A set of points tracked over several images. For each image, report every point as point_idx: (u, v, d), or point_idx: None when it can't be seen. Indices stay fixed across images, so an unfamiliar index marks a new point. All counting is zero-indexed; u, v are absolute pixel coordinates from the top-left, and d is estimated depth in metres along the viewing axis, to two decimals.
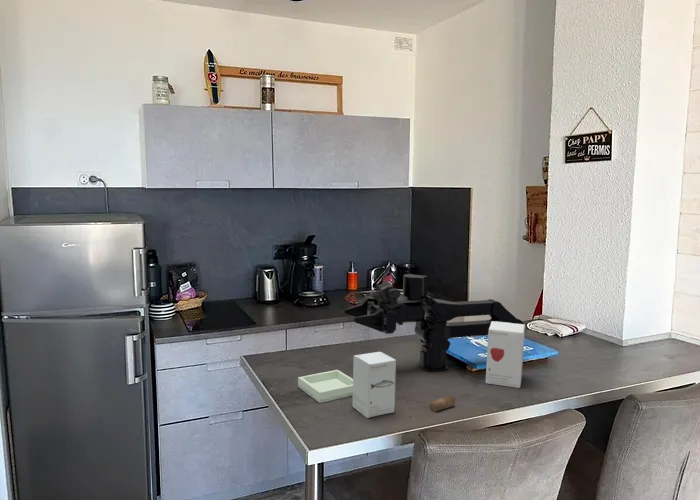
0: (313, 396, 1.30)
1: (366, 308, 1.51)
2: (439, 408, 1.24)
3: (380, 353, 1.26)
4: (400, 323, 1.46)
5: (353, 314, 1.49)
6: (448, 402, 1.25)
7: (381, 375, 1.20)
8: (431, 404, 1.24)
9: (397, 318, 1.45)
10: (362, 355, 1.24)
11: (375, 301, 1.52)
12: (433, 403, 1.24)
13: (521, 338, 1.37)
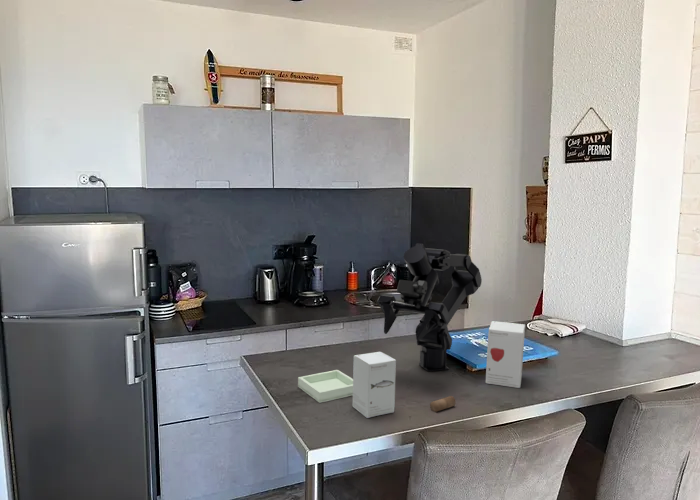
0: (313, 396, 1.30)
1: (392, 310, 1.41)
2: (439, 409, 1.24)
3: (380, 353, 1.26)
4: (430, 298, 1.43)
5: (390, 326, 1.40)
6: (449, 403, 1.25)
7: (381, 375, 1.20)
8: (432, 404, 1.24)
9: (428, 298, 1.41)
10: (362, 355, 1.24)
11: (392, 298, 1.42)
12: (434, 403, 1.24)
13: (521, 338, 1.37)
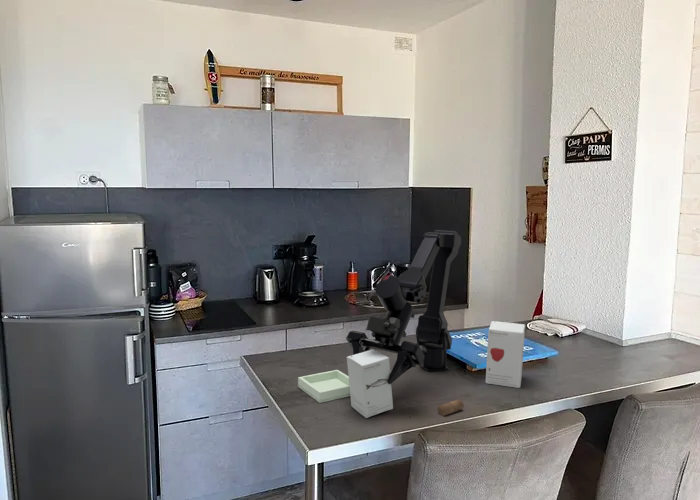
0: (313, 396, 1.30)
1: (362, 349, 1.28)
2: None
3: (373, 351, 1.25)
4: (404, 335, 1.30)
5: None
6: None
7: (375, 374, 1.19)
8: (443, 411, 1.21)
9: (402, 335, 1.28)
10: (355, 355, 1.23)
11: (363, 335, 1.29)
12: (443, 414, 1.22)
13: (521, 338, 1.37)
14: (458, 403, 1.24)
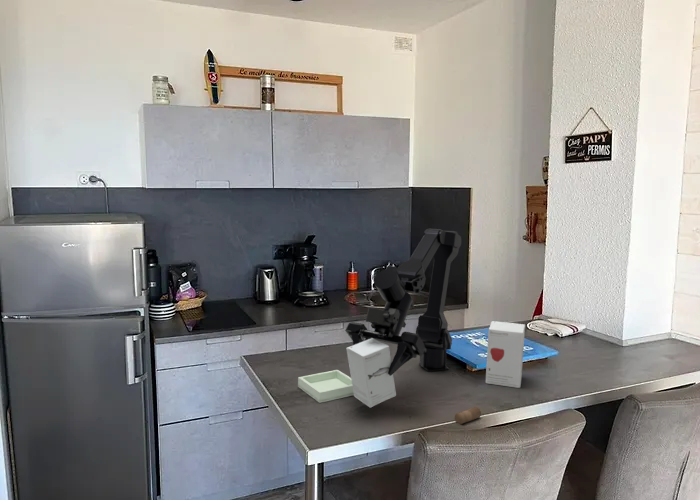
0: (313, 396, 1.30)
1: (361, 340, 1.28)
2: None
3: (372, 340, 1.24)
4: (404, 325, 1.29)
5: None
6: (474, 418, 1.19)
7: (376, 364, 1.18)
8: (458, 415, 1.18)
9: (402, 326, 1.27)
10: (354, 346, 1.22)
11: (362, 326, 1.28)
12: (460, 417, 1.17)
13: (521, 338, 1.37)
14: None
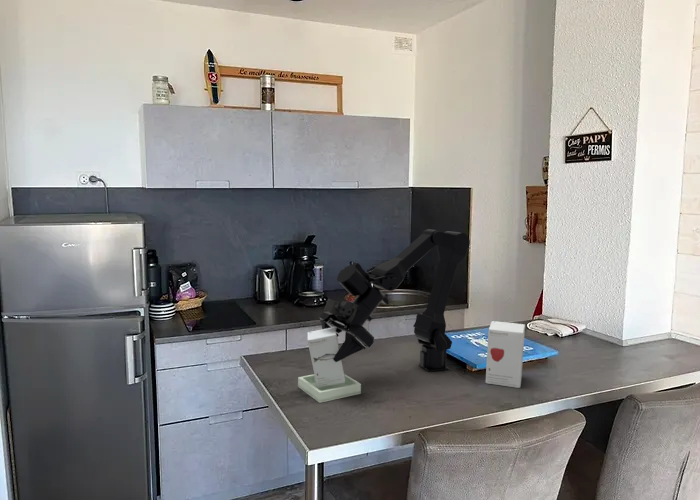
0: (313, 396, 1.30)
1: None
2: None
3: (331, 328, 1.35)
4: (369, 319, 1.37)
5: None
6: None
7: (322, 349, 1.30)
8: None
9: (364, 319, 1.35)
10: (314, 331, 1.36)
11: (332, 316, 1.40)
12: None
13: (521, 338, 1.37)
14: None
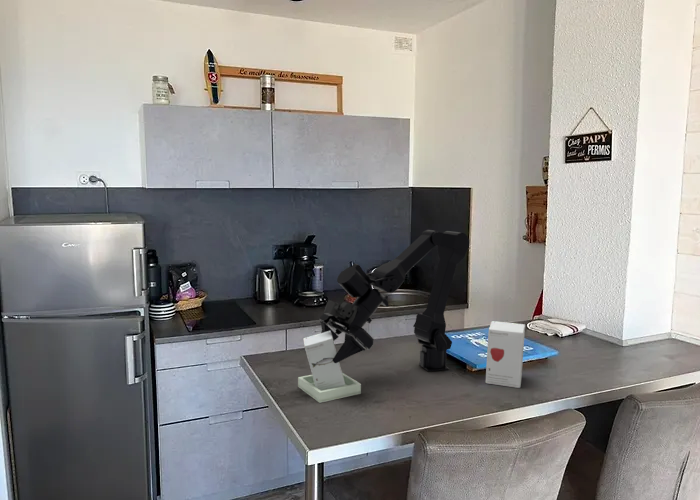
0: (313, 396, 1.30)
1: (330, 330, 1.40)
2: None
3: (327, 332, 1.35)
4: (369, 321, 1.37)
5: None
6: None
7: (320, 354, 1.30)
8: None
9: (364, 321, 1.36)
10: (309, 336, 1.35)
11: (332, 317, 1.40)
12: None
13: (521, 338, 1.37)
14: None
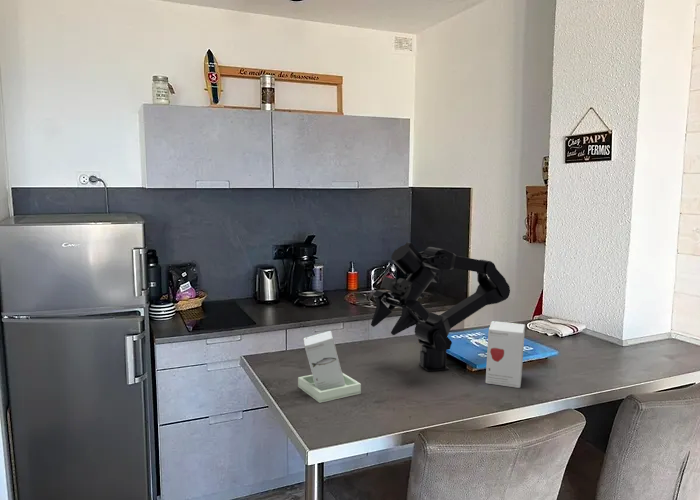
0: (313, 396, 1.30)
1: (384, 305, 1.48)
2: None
3: (327, 332, 1.35)
4: (422, 296, 1.45)
5: (379, 320, 1.48)
6: None
7: (320, 353, 1.30)
8: None
9: (417, 296, 1.44)
10: (310, 336, 1.36)
11: (385, 293, 1.49)
12: None
13: (521, 338, 1.37)
14: None
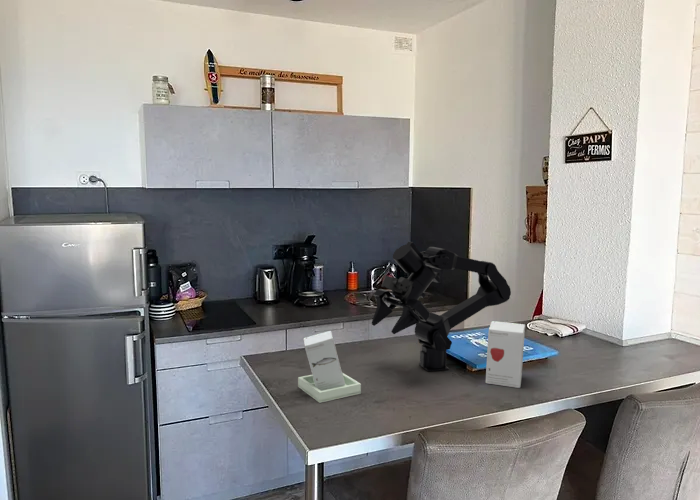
0: (313, 396, 1.30)
1: (385, 304, 1.49)
2: None
3: (327, 332, 1.35)
4: (423, 296, 1.46)
5: (380, 319, 1.48)
6: None
7: (320, 353, 1.30)
8: None
9: (418, 295, 1.44)
10: (310, 336, 1.36)
11: (386, 293, 1.49)
12: None
13: (521, 338, 1.37)
14: None
